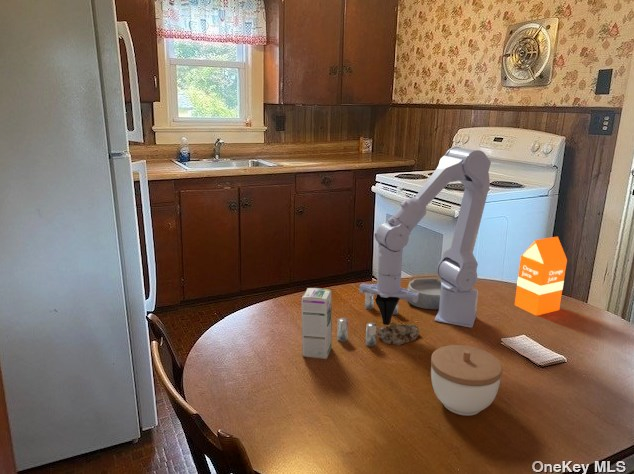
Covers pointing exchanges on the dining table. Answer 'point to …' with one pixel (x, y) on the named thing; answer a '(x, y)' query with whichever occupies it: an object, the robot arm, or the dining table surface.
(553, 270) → the orange juice
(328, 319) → the syrup box
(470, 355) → the lidded bowl
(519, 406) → the dining table surface
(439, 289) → the dish
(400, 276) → the robot arm
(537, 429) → the dining table surface
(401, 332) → the mineral rock
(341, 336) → the spacer posts
